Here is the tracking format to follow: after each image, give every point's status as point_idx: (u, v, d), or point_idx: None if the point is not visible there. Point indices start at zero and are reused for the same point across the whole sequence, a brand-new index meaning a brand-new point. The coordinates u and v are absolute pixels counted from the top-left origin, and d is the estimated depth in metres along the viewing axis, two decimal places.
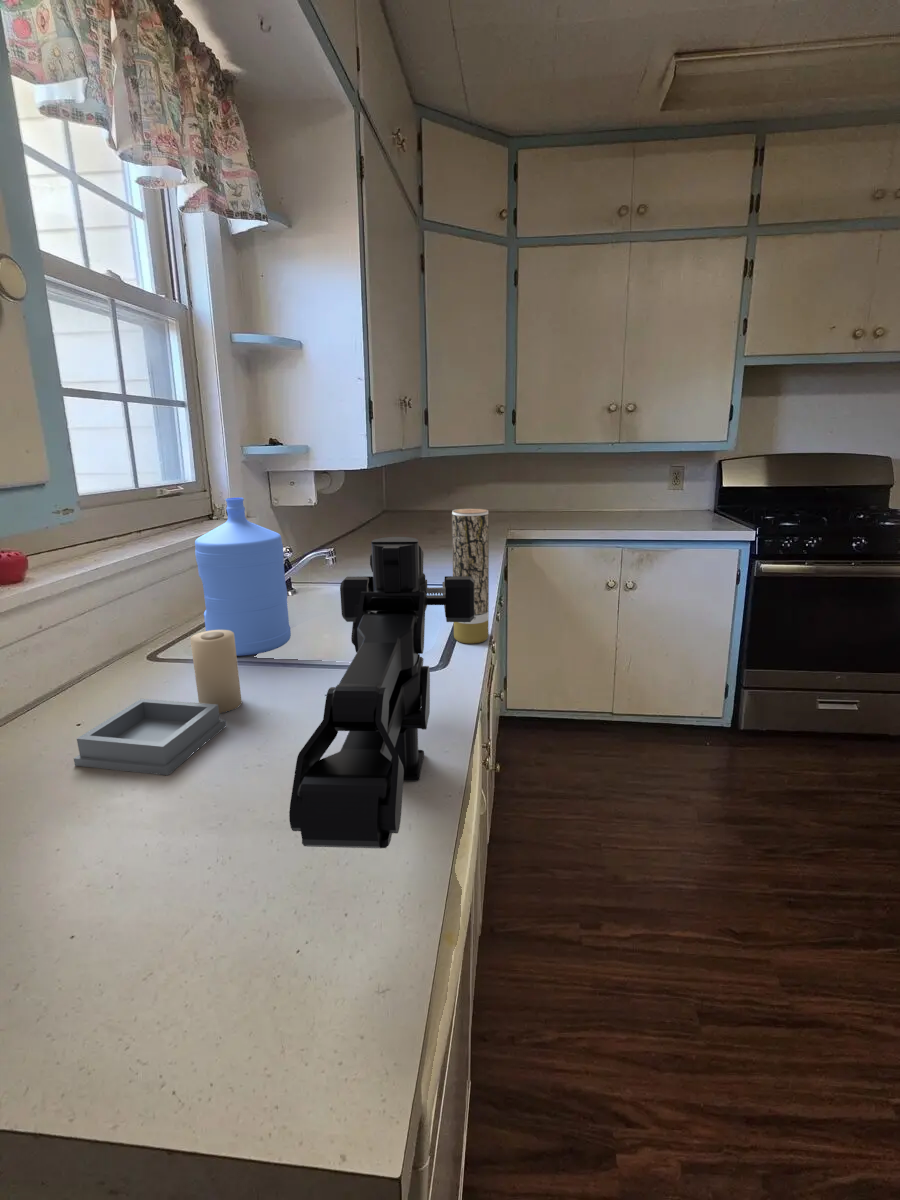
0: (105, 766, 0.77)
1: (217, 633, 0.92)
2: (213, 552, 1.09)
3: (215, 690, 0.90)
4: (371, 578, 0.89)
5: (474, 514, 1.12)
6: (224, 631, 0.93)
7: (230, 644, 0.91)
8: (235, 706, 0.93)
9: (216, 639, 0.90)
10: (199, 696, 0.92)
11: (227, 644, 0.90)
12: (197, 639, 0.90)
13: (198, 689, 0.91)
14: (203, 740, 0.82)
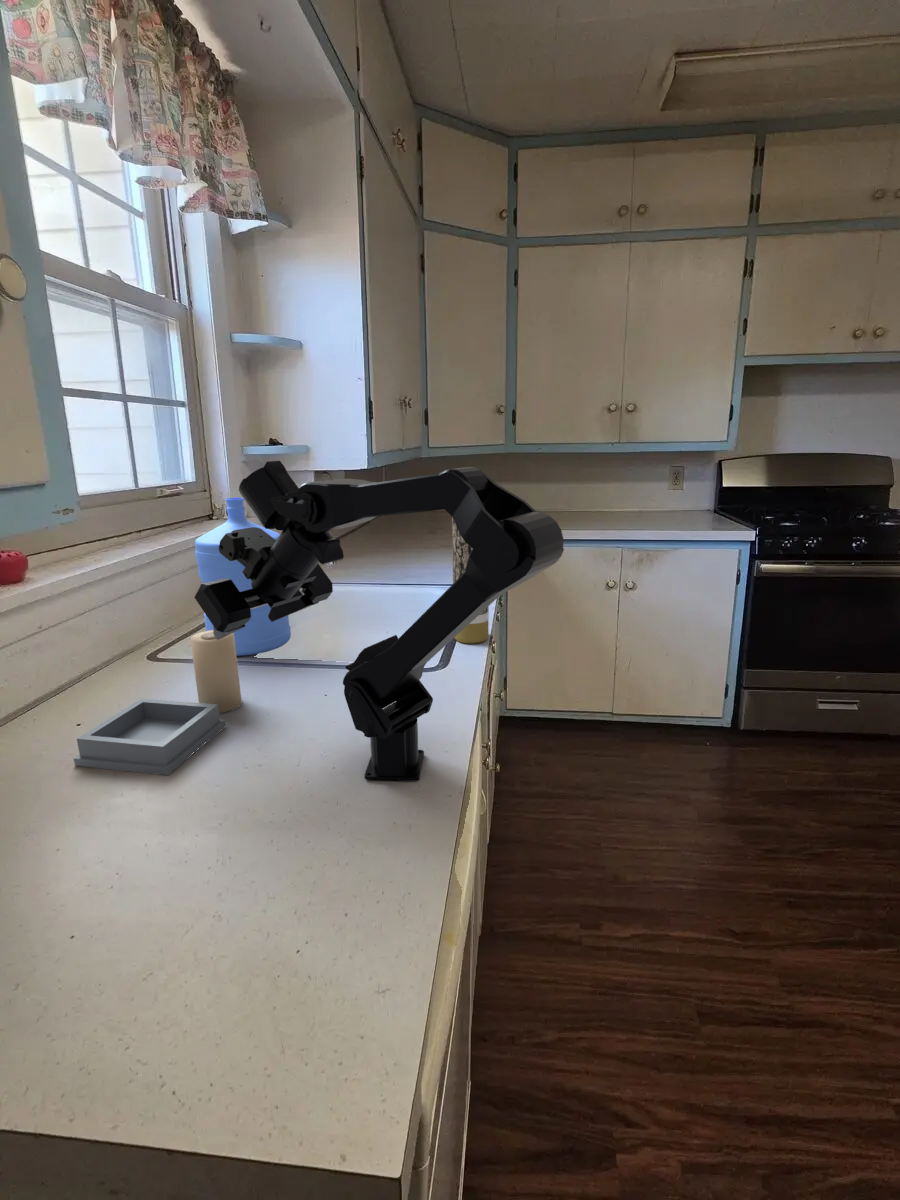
0: (105, 766, 0.77)
1: None
2: (213, 552, 1.09)
3: (215, 690, 0.90)
4: None
5: None
6: None
7: (230, 644, 0.91)
8: (235, 706, 0.93)
9: (216, 639, 0.90)
10: (199, 696, 0.92)
11: (227, 644, 0.90)
12: (197, 639, 0.90)
13: (198, 689, 0.91)
14: (203, 740, 0.82)
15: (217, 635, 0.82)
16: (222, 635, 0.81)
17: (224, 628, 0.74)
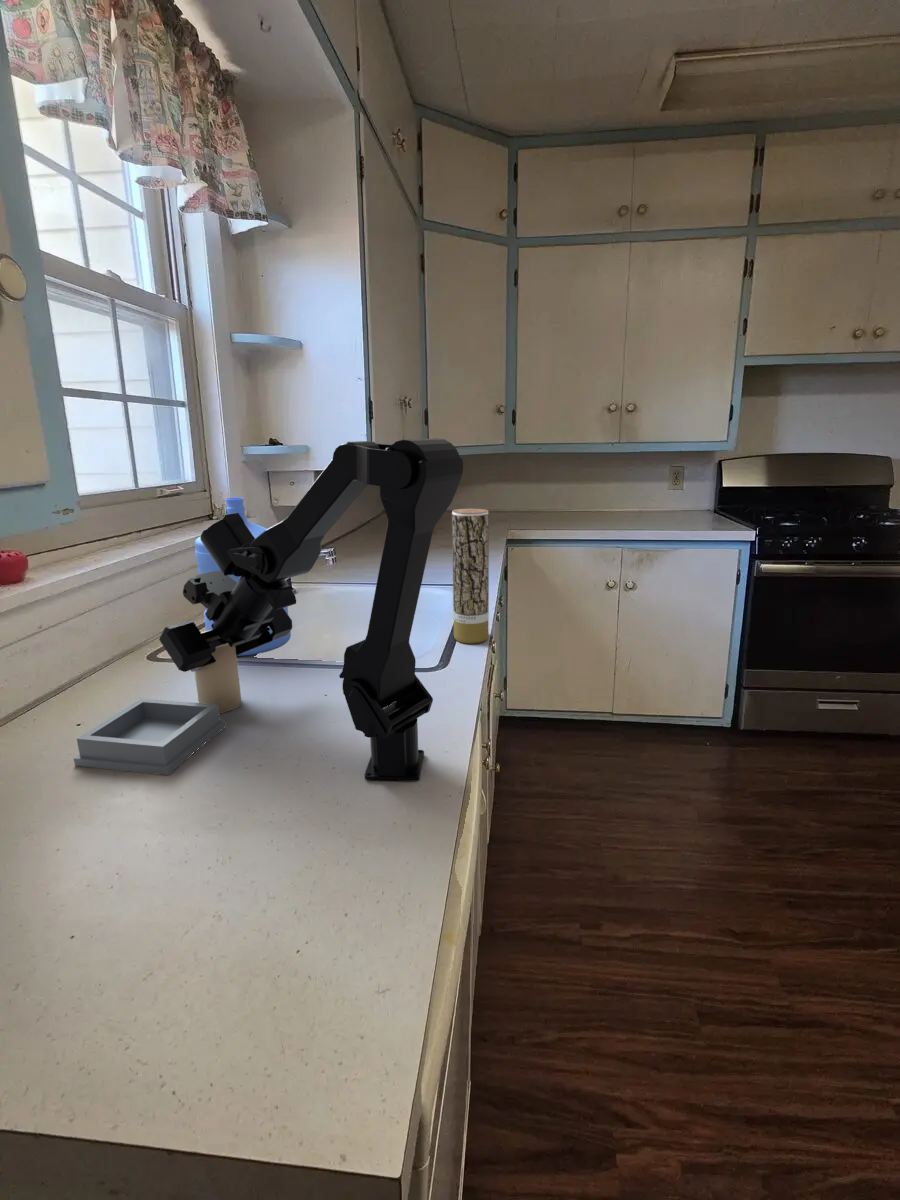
0: (105, 766, 0.77)
1: None
2: None
3: (215, 689, 0.90)
4: None
5: (474, 514, 1.12)
6: None
7: None
8: (235, 706, 0.93)
9: None
10: (199, 696, 0.92)
11: (227, 644, 0.90)
12: None
13: (198, 689, 0.91)
14: (203, 740, 0.82)
15: None
16: (196, 668, 0.88)
17: (186, 668, 0.81)
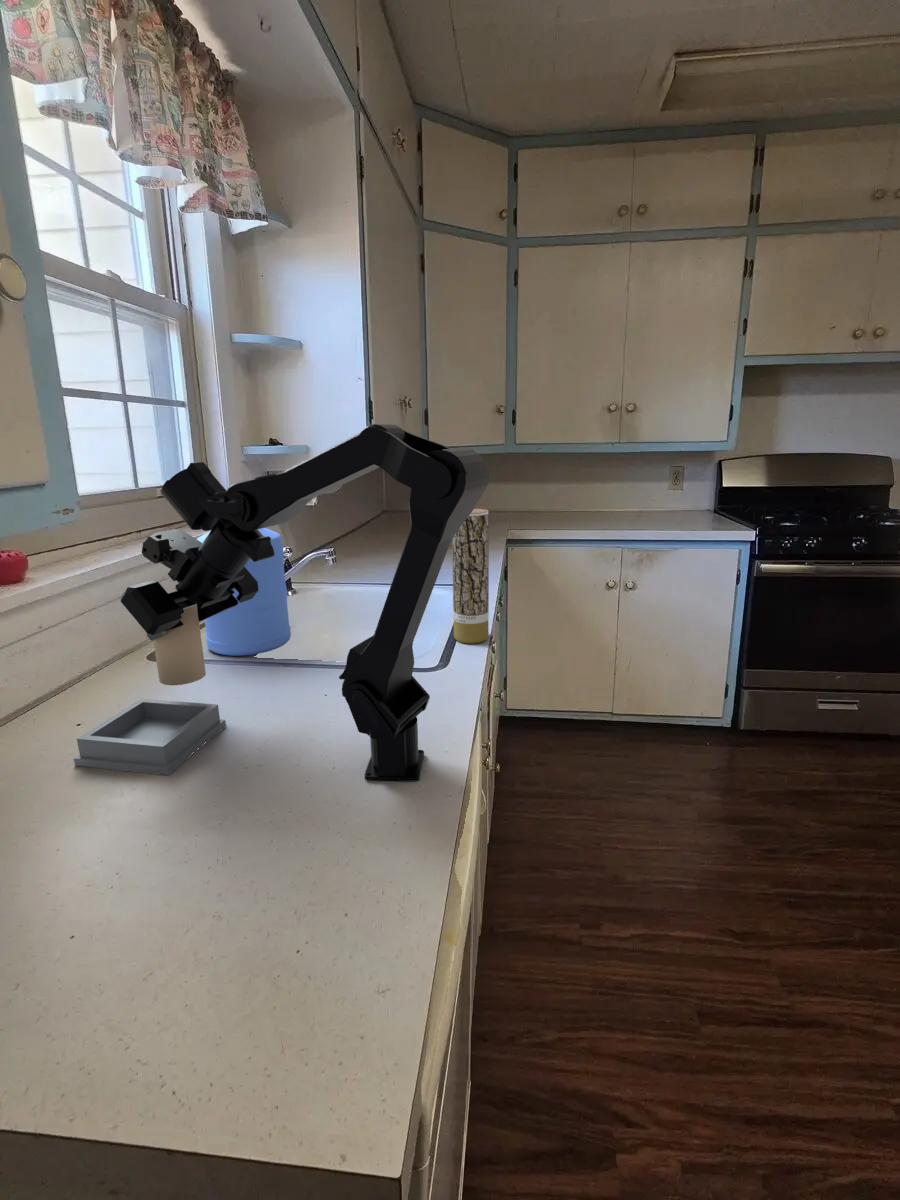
0: (105, 766, 0.77)
1: None
2: None
3: (179, 658, 0.84)
4: None
5: (474, 514, 1.12)
6: None
7: (193, 608, 0.84)
8: (200, 676, 0.86)
9: None
10: (160, 667, 0.84)
11: (191, 608, 0.84)
12: None
13: (158, 659, 0.84)
14: (203, 740, 0.82)
15: (151, 636, 0.82)
16: (158, 635, 0.81)
17: (155, 630, 0.74)
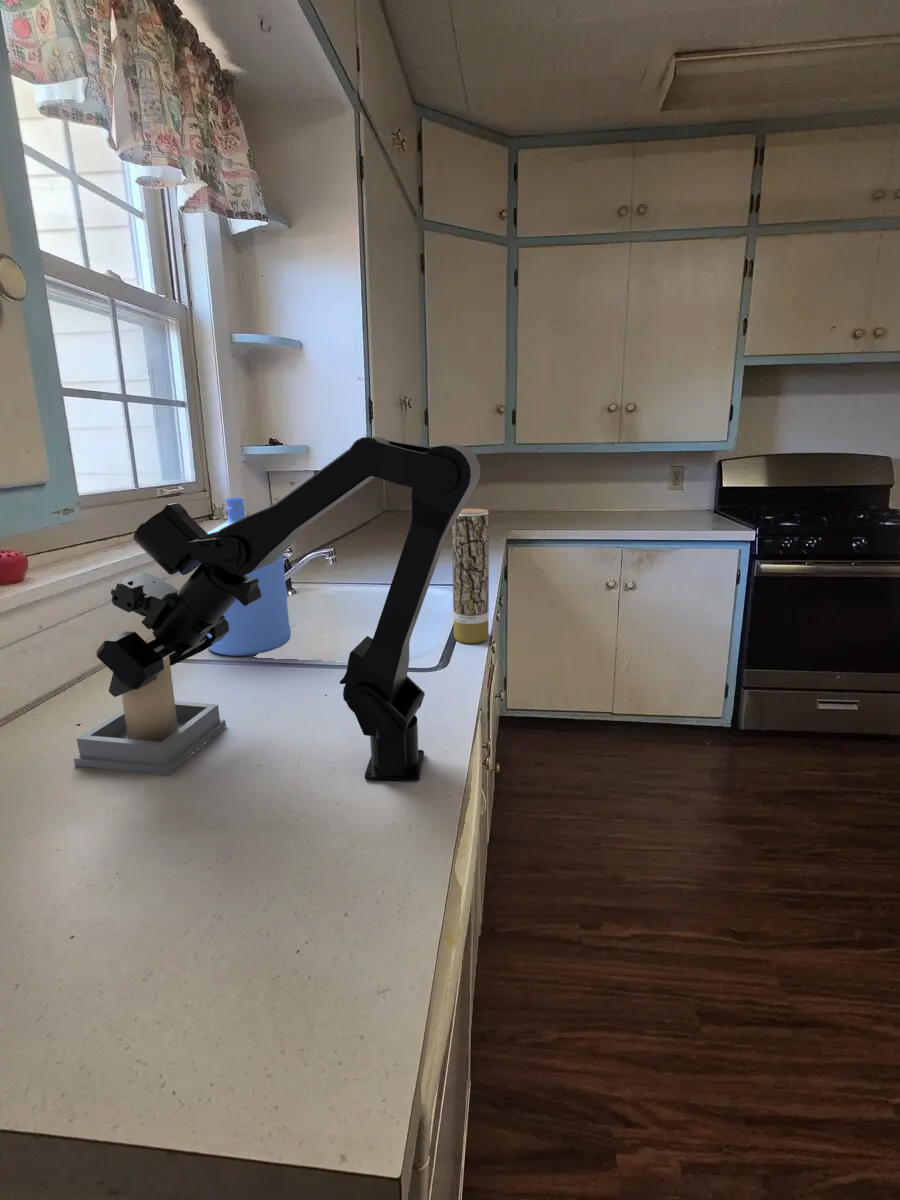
0: (105, 766, 0.77)
1: None
2: None
3: (154, 719, 0.79)
4: None
5: (474, 514, 1.12)
6: None
7: (168, 665, 0.80)
8: None
9: None
10: (132, 730, 0.79)
11: (166, 665, 0.80)
12: None
13: (130, 722, 0.79)
14: (203, 740, 0.82)
15: (115, 692, 0.76)
16: (125, 691, 0.75)
17: (139, 685, 0.70)
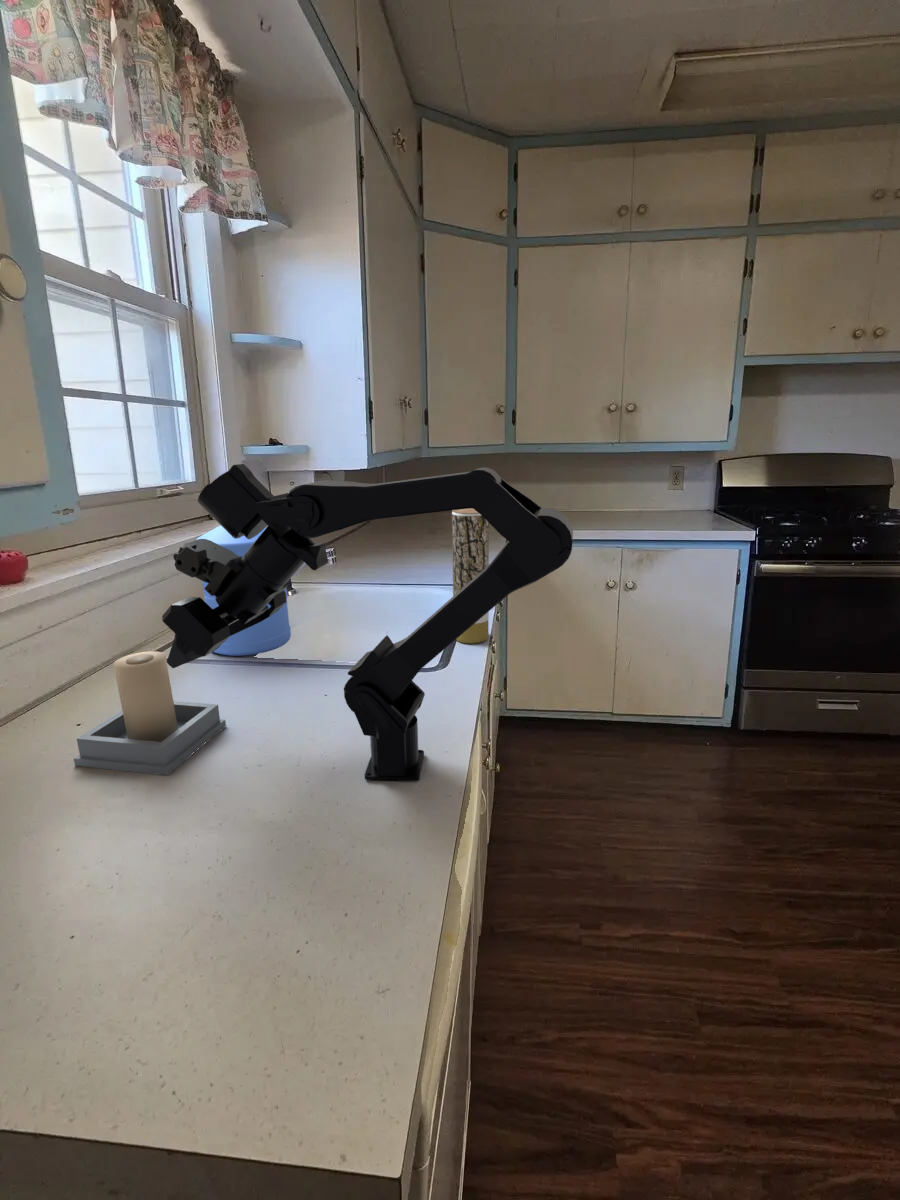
0: (105, 766, 0.77)
1: (144, 656, 0.80)
2: None
3: (154, 720, 0.79)
4: None
5: (474, 514, 1.12)
6: (149, 653, 0.81)
7: (165, 665, 0.80)
8: None
9: (149, 662, 0.78)
10: (131, 731, 0.79)
11: (163, 666, 0.79)
12: (123, 665, 0.77)
13: (130, 723, 0.79)
14: (203, 740, 0.82)
15: (174, 663, 0.72)
16: (185, 661, 0.72)
17: (207, 651, 0.67)
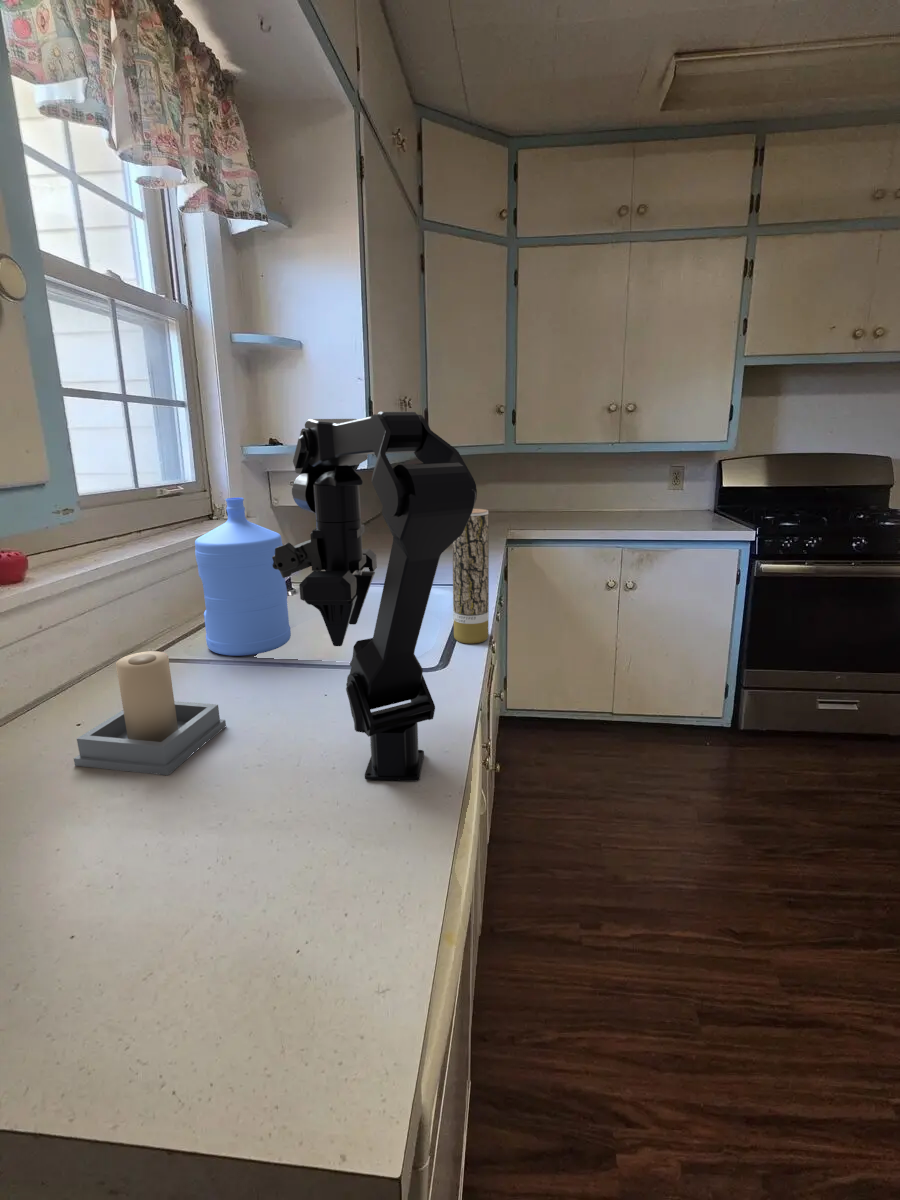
0: (105, 766, 0.77)
1: (146, 656, 0.80)
2: (213, 552, 1.09)
3: (156, 720, 0.79)
4: None
5: (474, 514, 1.12)
6: (151, 653, 0.81)
7: (168, 666, 0.80)
8: None
9: (152, 662, 0.78)
10: (133, 731, 0.79)
11: (166, 666, 0.79)
12: (126, 665, 0.77)
13: (131, 723, 0.79)
14: (203, 740, 0.82)
15: (339, 639, 0.80)
16: (344, 629, 0.79)
17: (350, 592, 0.74)
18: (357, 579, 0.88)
